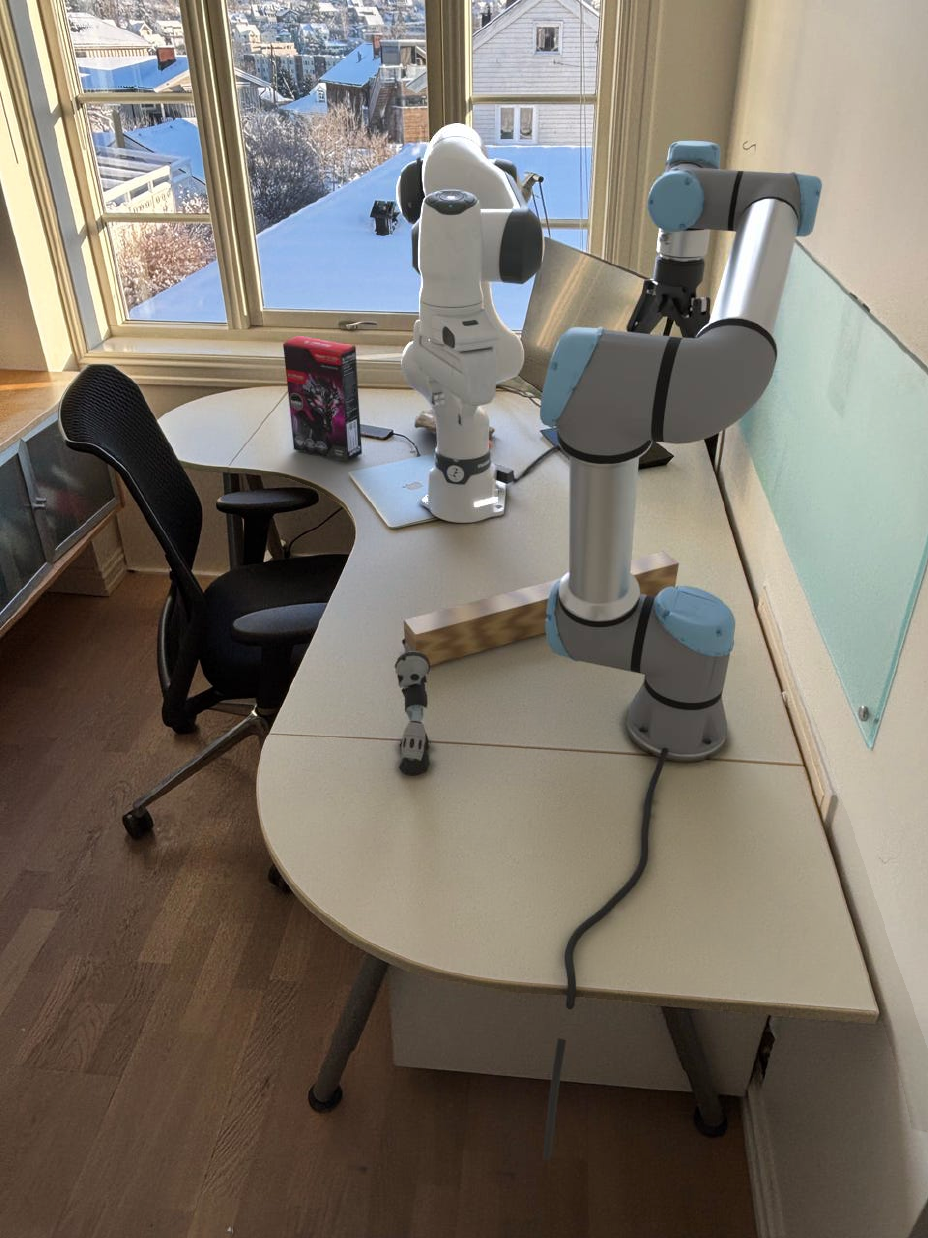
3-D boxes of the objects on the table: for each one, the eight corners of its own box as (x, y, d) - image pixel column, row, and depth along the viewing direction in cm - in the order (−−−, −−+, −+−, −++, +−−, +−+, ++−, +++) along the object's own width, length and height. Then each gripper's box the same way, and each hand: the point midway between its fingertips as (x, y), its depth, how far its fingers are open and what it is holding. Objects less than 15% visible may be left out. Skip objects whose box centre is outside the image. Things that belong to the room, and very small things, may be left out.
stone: (398, 433, 232) (403, 409, 229) (417, 425, 245) (422, 402, 243) (477, 457, 228) (483, 433, 226) (491, 447, 242) (497, 425, 239)
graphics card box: (291, 450, 230) (280, 341, 215) (307, 440, 235) (297, 333, 220) (348, 464, 224) (341, 353, 209) (364, 454, 229) (358, 344, 214)
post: (658, 583, 179) (663, 551, 175) (673, 595, 176) (679, 562, 172) (405, 654, 159) (403, 619, 155) (416, 670, 156) (415, 634, 152)
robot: (432, 803, 130) (430, 691, 118) (397, 804, 129) (392, 692, 118) (430, 713, 146) (428, 607, 135) (399, 714, 146) (394, 608, 134)
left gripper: (400, 304, 135) (403, 395, 143) (463, 343, 120) (462, 442, 127) (439, 299, 137) (440, 389, 145) (506, 336, 122) (502, 435, 130)
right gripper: (613, 241, 148) (601, 371, 160) (714, 276, 130) (692, 420, 141) (651, 237, 151) (637, 364, 163) (755, 271, 132) (730, 412, 144)
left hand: (451, 414), depth 136 cm, fingers open, 8 cm apart
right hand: (662, 390), depth 152 cm, fingers open, 13 cm apart
